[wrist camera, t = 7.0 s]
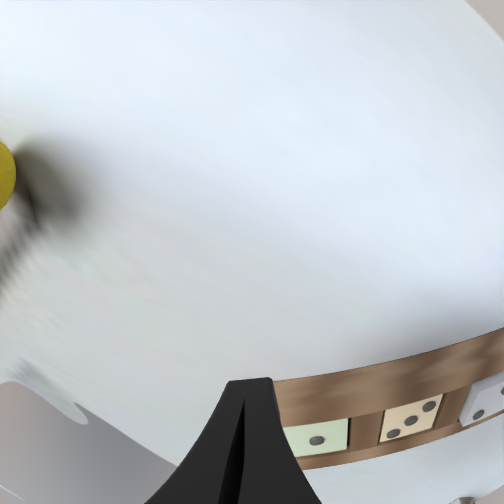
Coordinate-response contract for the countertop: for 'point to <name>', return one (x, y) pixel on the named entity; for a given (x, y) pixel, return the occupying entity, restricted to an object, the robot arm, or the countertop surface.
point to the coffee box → (463, 501)
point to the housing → (390, 397)
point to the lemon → (6, 174)
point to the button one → (317, 437)
